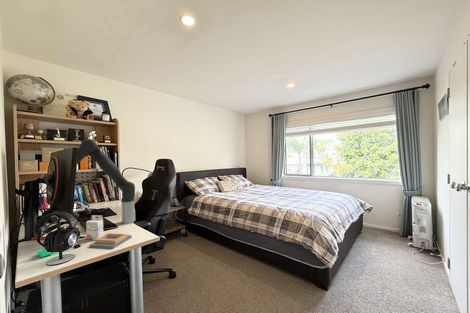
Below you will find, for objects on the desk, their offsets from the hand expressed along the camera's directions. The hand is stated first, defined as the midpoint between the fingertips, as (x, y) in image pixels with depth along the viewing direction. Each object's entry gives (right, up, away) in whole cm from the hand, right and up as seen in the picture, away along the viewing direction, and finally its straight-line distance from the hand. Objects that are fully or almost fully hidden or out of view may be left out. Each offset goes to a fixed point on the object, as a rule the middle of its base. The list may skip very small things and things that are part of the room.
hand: (83, 214), depth 135 cm
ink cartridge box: (+8, -15, -1) cm, 17 cm away
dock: (+23, -15, -8) cm, 29 cm away
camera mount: (-2, -16, -20) cm, 26 cm away
